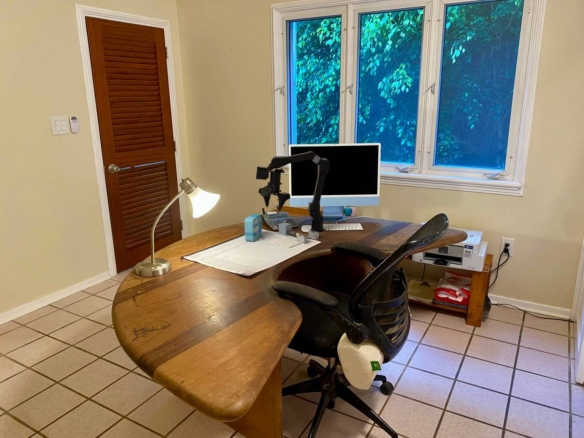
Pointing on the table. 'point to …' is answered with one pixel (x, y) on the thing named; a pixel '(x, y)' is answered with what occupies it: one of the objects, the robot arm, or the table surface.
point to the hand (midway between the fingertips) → (273, 209)
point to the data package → (253, 227)
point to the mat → (285, 242)
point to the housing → (311, 234)
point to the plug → (287, 230)
